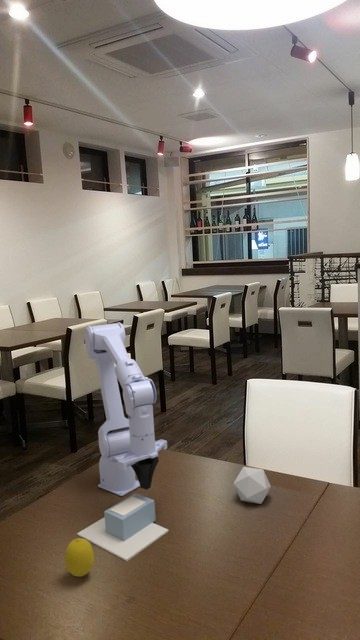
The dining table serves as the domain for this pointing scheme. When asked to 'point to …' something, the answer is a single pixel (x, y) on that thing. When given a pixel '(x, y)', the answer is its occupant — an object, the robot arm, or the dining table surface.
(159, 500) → the dining table surface
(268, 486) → the die
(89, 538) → the mat
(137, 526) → the block
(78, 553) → the lemon
